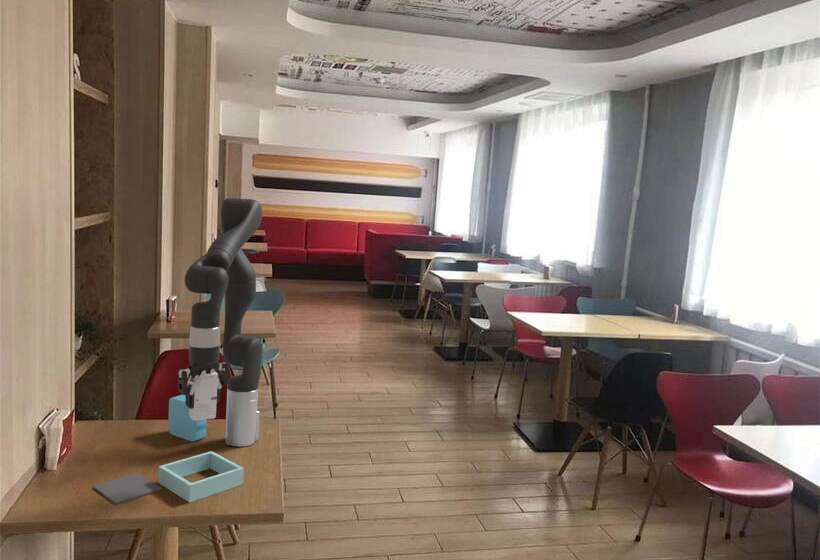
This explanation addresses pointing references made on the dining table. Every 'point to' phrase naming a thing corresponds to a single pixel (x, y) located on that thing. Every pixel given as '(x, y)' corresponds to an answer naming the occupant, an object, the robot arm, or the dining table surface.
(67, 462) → the dining table surface
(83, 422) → the dining table surface
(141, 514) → the dining table surface
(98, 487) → the mat
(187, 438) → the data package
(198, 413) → the skincare box
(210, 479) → the bin
